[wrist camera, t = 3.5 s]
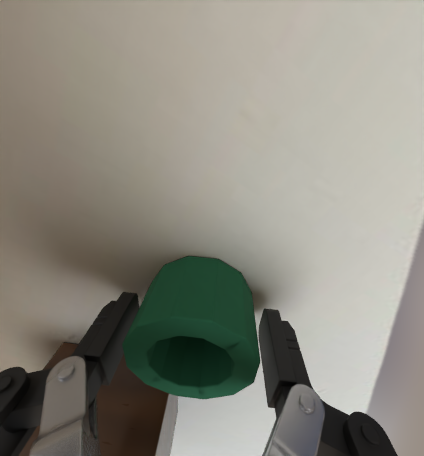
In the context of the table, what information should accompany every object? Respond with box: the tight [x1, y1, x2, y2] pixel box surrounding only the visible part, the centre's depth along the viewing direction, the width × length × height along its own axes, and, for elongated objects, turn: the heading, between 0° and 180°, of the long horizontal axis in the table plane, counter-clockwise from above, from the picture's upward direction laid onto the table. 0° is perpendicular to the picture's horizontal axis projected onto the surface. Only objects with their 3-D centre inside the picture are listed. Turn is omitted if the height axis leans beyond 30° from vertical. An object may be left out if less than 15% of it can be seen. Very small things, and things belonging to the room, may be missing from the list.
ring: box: [122, 256, 260, 399], centre depth 11 cm, size 6×6×4 cm
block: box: [19, 343, 178, 456], centre depth 15 cm, size 9×9×7 cm
